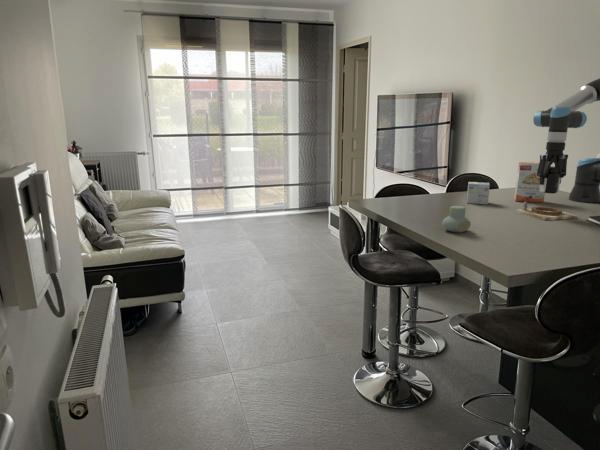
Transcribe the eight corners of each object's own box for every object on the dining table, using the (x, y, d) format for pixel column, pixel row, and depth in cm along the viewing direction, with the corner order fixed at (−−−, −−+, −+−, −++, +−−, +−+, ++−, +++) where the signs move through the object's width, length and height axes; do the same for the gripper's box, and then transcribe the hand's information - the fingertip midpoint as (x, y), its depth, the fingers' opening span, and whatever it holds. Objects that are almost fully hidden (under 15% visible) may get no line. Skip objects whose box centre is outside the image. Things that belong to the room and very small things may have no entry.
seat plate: (547, 210, 227) (548, 199, 225) (577, 218, 210) (578, 207, 208) (516, 211, 222) (517, 201, 221) (544, 220, 205) (545, 209, 204)
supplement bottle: (559, 194, 209) (563, 167, 206) (543, 193, 211) (546, 167, 208) (554, 191, 216) (558, 166, 213) (538, 190, 217) (542, 165, 214)
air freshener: (453, 234, 182) (456, 210, 179) (438, 230, 189) (440, 206, 186) (473, 231, 187) (475, 207, 184) (457, 227, 194) (459, 203, 191)
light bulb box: (487, 202, 245) (489, 182, 242) (488, 204, 239) (490, 184, 236) (466, 201, 248) (468, 181, 246) (466, 203, 242) (468, 183, 239)
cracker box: (515, 201, 247) (520, 162, 242) (513, 199, 253) (518, 161, 247) (544, 203, 243) (549, 163, 238) (541, 201, 249) (547, 162, 244)
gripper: (567, 140, 213) (560, 189, 219) (531, 141, 208) (525, 190, 214) (580, 141, 206) (572, 192, 212) (544, 142, 201) (537, 193, 207)
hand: (548, 191), depth 213 cm, fingers closed on supplement bottle, 7 cm apart
